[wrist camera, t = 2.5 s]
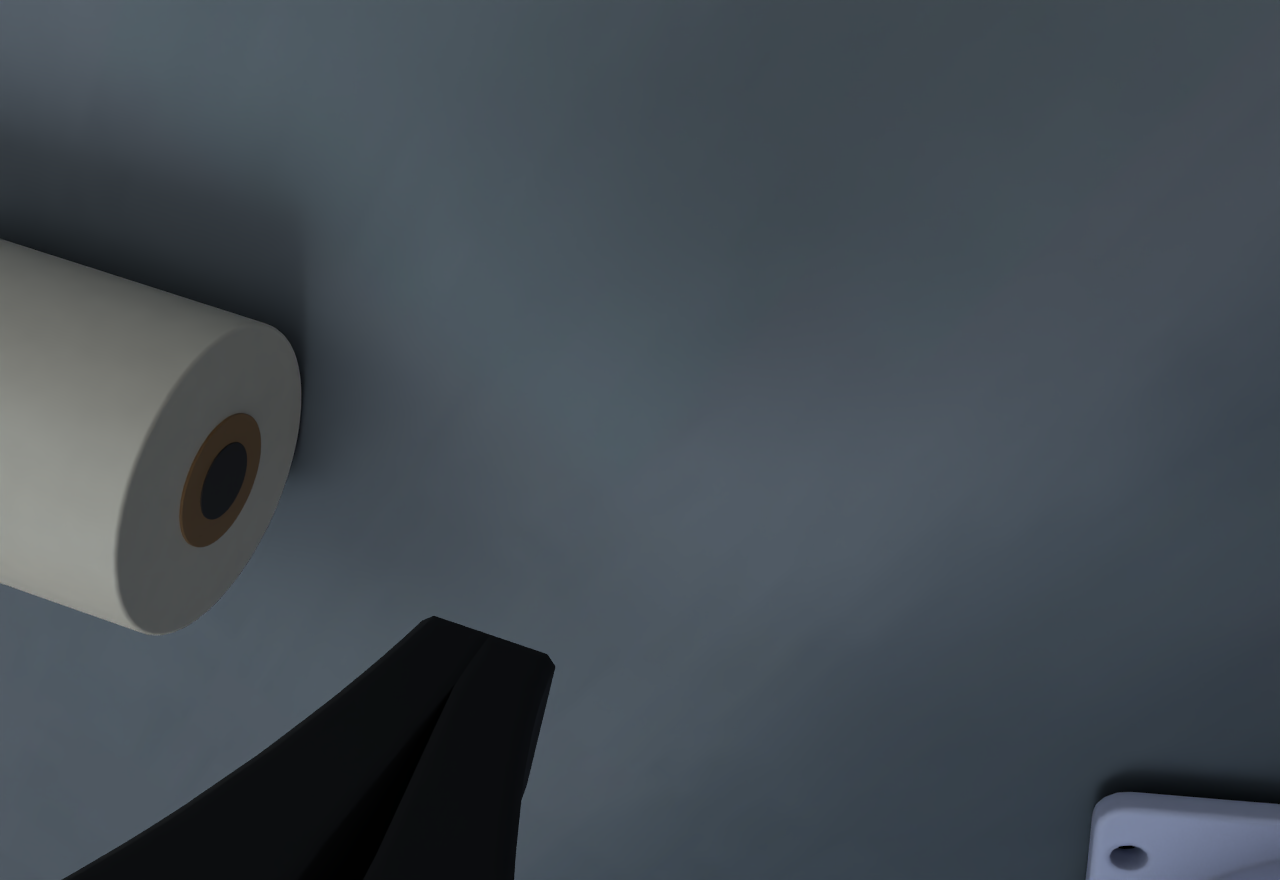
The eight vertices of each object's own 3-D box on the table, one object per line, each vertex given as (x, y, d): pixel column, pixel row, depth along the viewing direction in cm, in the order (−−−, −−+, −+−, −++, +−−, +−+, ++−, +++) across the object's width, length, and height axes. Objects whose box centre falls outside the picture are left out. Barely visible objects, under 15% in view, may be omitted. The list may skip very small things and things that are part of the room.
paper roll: (279, 257, 14) (75, 527, 11) (323, 450, 17) (174, 690, 15) (-131, 129, 14) (-415, 358, 12) (-8, 342, 18) (-206, 554, 15)
